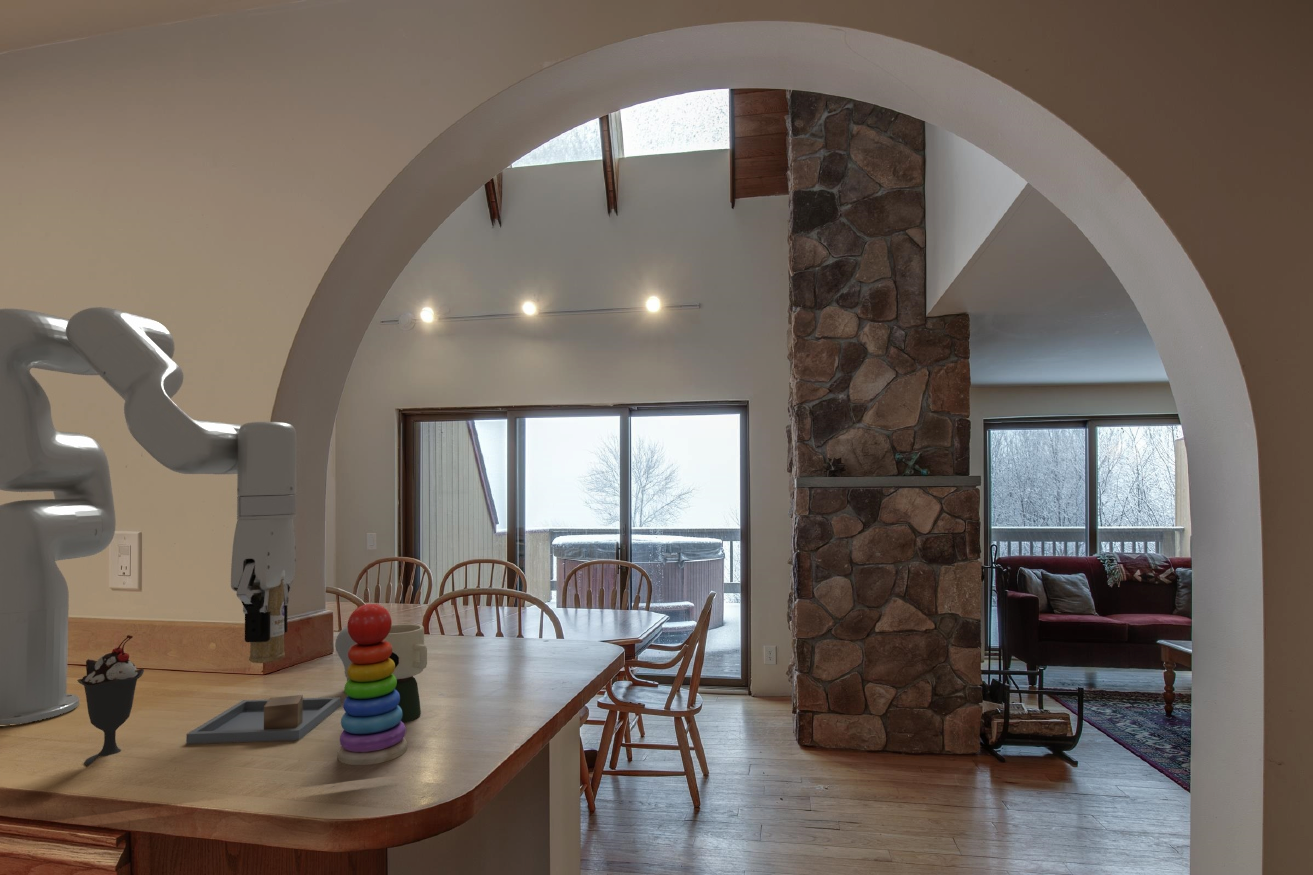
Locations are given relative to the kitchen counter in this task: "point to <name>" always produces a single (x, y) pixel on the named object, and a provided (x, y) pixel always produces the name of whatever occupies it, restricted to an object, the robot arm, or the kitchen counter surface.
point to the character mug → (408, 665)
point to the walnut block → (283, 712)
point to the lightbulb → (344, 648)
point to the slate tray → (259, 723)
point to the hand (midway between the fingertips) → (266, 635)
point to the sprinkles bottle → (271, 628)
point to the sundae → (110, 695)
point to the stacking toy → (371, 693)
